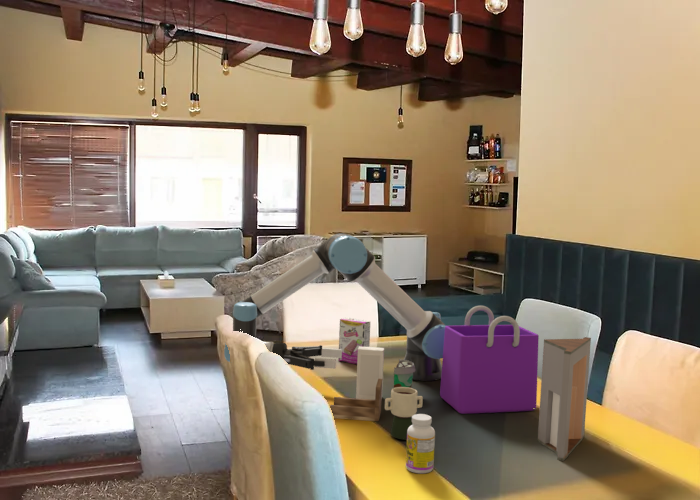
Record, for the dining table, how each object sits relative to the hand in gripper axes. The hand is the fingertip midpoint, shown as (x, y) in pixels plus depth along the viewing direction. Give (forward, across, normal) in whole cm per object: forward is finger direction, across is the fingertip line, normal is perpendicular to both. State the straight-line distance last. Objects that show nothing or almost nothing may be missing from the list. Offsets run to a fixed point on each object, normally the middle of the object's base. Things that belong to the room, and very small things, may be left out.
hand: (338, 358), depth 222 cm
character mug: (+22, +33, -12) cm, 41 cm away
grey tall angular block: (+63, +29, -12) cm, 71 cm away
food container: (+21, -7, -12) cm, 25 cm away
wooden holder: (+7, +17, -12) cm, 22 cm away
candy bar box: (0, -43, -12) cm, 45 cm away
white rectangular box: (+10, 0, -12) cm, 16 cm away
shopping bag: (+47, -2, -12) cm, 49 cm away
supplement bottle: (+27, +53, -12) cm, 61 cm away
